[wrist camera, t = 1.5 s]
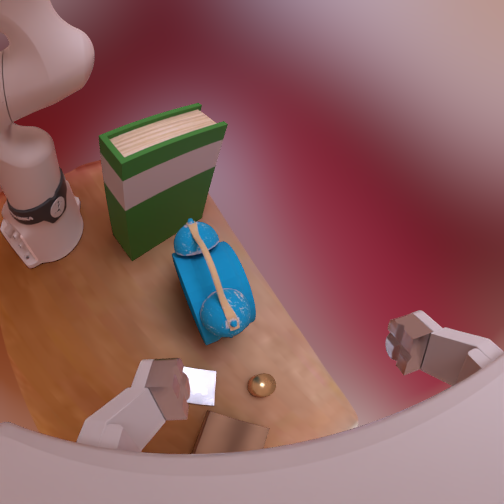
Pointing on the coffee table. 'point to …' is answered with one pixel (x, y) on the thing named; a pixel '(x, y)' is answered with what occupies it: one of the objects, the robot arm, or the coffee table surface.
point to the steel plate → (201, 386)
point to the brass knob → (261, 385)
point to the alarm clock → (212, 282)
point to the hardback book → (158, 175)
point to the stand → (228, 435)
